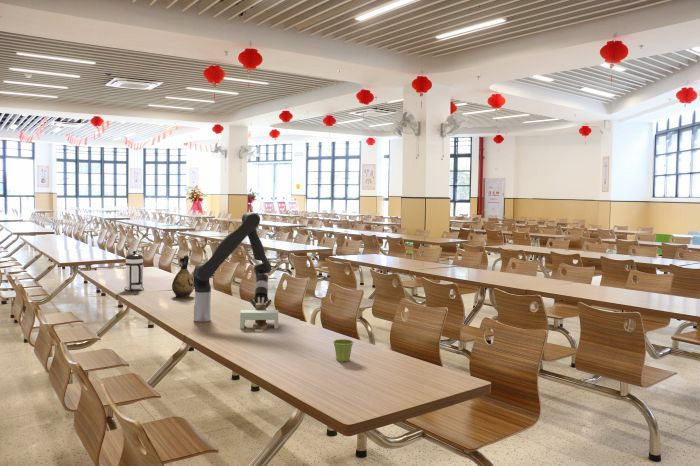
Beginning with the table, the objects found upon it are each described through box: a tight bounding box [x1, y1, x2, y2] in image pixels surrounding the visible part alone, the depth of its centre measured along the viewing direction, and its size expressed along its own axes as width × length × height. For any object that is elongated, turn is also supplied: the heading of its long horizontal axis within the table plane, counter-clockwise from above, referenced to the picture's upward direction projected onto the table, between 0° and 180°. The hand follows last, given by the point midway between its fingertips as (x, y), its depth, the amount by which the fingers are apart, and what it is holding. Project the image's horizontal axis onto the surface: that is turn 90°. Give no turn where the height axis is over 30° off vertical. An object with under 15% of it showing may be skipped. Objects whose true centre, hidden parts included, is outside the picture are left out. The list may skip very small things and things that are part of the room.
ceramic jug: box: [171, 254, 195, 299], centre depth 410 cm, size 17×15×30 cm
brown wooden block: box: [252, 302, 268, 331], centre depth 325 cm, size 8×15×12 cm, turn 7°
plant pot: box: [332, 338, 355, 363], centre depth 264 cm, size 9×9×9 cm
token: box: [253, 328, 264, 333], centre depth 315 cm, size 5×5×1 cm
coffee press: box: [124, 250, 145, 292], centre depth 431 cm, size 17×16×30 cm
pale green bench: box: [239, 309, 279, 330], centre depth 324 cm, size 21×8×9 cm, turn 97°
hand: (260, 314), depth 334 cm, fingers closed
